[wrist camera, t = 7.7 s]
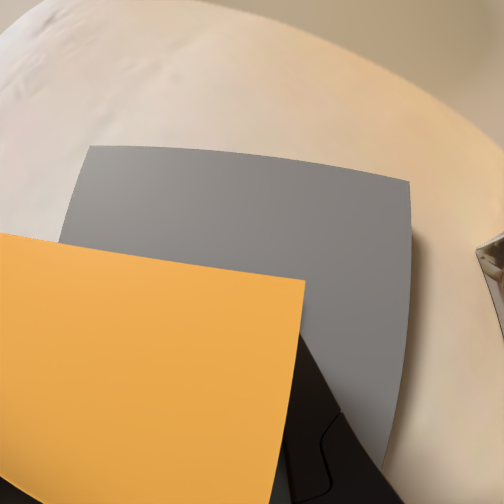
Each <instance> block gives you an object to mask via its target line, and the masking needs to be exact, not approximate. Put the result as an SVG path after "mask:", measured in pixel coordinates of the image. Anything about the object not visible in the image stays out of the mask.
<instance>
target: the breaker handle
mask: <svg viewBox="0 0 504 504" xmlns="http://www.w3.org/2000/svg"><path fill="white" fill-rule="evenodd" d="M305 281H306V280H299V279H291V278H284V277H276V276H269V275H262V274H254V273H247V272H240V271H233V270H226V269H219V268H212V267H205V266H199V265H192V264H185V263H178V262H172V261H165V260H159V259H152V258H146V257H140V256H133V255H127V254H121V253H115V252H108V251H102V250H96V249H90V248H84V247H78V246H72V245H67V244H61V243H55V242H49V241H44V240H38V239H32V238H27V237H21V236H16V235H10V234H5V233H0V476H1V477H2V478H4V479H5V480H7V481H8V482H9V483H11V484H12V485H14V486H15V487H17V488H19V489H20V490H22V491H23V492H25V493H26V494H28V495H30V496H31V497H33V498H35V499H36V500H38V501H40V502H42V503H43V504H269V500H270V495H271V491H272V486H273V482H274V477H275V472H276V467H277V462H278V457H279V452H280V447H281V442H282V436H283V431H284V425H285V420H286V414H287V408H288V402H289V396H290V390H291V384H292V378H293V371H294V365H295V358H296V351H297V344H298V337H299V329H300V322H301V314H302V306H303V298H304V290H305Z"/></svg>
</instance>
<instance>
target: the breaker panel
mask: <svg viewBox="0 0 504 504" xmlns="http://www.w3.org/2000/svg"><path fill="white" fill-rule="evenodd" d="M58 243H61V244H67V245H72V246H78V247H84V248H90V249H96V250H102V251H108V252H115V253H121V254H127V255H133V256H140V257H146V258H152V259H159V260H165V261H172V262H178V263H185V264H192V265H199V266H205V267H212V268H219V269H226V270H233V271H240V272H247V273H254V274H262V275H269V276H276V277H284V278H291V279H299V280H306V281H305V290H304V298H303V306H302V314H301V322H300V329H299V332H300V333H301V335H302V337H303V339H304V341H305V343H306V344H307V346H308V348H309V350H310V352H311V354H312V356H313V357H314V359H315V361H316V363H317V365H318V367H319V368H320V370H321V372H322V374H323V376H324V378H325V379H326V381H327V383H328V385H329V387H330V389H331V391H332V392H333V394H334V396H335V398H336V400H337V402H338V403H339V405H340V407H341V409H342V411H341V412H343V413H344V414H345V416H346V418H347V420H348V422H349V424H350V425H351V427H352V429H353V431H354V432H355V434H356V436H357V437H358V439H359V441H360V442H361V444H362V445H363V447H364V448H365V450H366V451H367V453H368V454H369V456H370V457H371V459H372V460H373V461H374V463H375V464H376V466H377V467H378V468H379V470H380V471H381V468H382V464H383V461H384V457H385V453H386V449H387V445H388V441H389V437H390V433H391V428H392V424H393V419H394V415H395V410H396V404H397V399H398V394H399V388H400V382H401V376H402V369H403V362H404V354H405V346H406V337H407V327H408V316H409V303H410V285H411V203H410V186H409V181H405V180H400V179H396V178H391V177H387V176H382V175H377V174H372V173H367V172H362V171H357V170H352V169H347V168H341V167H335V166H330V165H324V164H318V163H311V162H305V161H298V160H291V159H284V158H277V157H269V156H261V155H252V154H243V153H233V152H223V151H212V150H199V149H185V148H167V147H144V146H90V147H89V150H88V152H87V155H86V157H85V160H84V163H83V165H82V168H81V171H80V174H79V176H78V179H77V182H76V185H75V188H74V191H73V194H72V197H71V200H70V203H69V207H68V210H67V213H66V217H65V220H64V224H63V227H62V231H61V235H60V239H59V242H58Z"/></svg>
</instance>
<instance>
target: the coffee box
mask: <svg viewBox="0 0 504 504" xmlns="http://www.w3.org/2000/svg"><path fill="white" fill-rule="evenodd" d="M476 254H477V257H478V260H479V262H480V265H481V267H482V270H483V273H484V275H485V278H486V281H487V284H488V287H489V289H490V292H491V295H492V298H493V301H494V305H495V308H496V311H497V314H498V318H499V321H500V325H501V328H502V332H503V336H504V232H502V233H501V234H499V235H497V236H496V237H494V238H492V239H491V240H489V241H488V242H486V243H484V244H483V245H481V246H479V247H478V248H477V249H476Z"/></svg>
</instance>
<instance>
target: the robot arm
mask: <svg viewBox="0 0 504 504" xmlns="http://www.w3.org/2000/svg"><path fill="white" fill-rule="evenodd" d="M341 411H342V409H341V407H340V405H339V403H338V402H337V400H336V398H335V396H334V394H333V392H332V391H331V389H330V387H329V385H328V383H327V381H326V379H325V378H324V376H323V374H322V372H321V370H320V368H319V367H318V365H317V363H316V361H315V359H314V357H313V356H312V354H311V352H310V350H309V348H308V346H307V344H306V343H305V341H304V339H303V337H302V335H301V333H300V332H299V337H298V344H297V351H296V358H295V365H294V371H293V378H292V384H291V390H290V396H289V402H288V408H287V414H286V420H285V425H284V431H283V436H282V442H281V447H280V452H279V457H278V462H277V467H276V472H275V477H274V482H273V486H272V491H271V495H270V500H269V504H405V503H404V502H403V501H402V499H401V498H400V497H399V495H398V494H397V493H396V491H395V490H394V489H393V487H392V486H391V485H390V483H389V482H388V481H387V479H386V478H385V476H384V475H383V474H382V472H381V471H380V470H379V468H378V467H377V466H376V464H375V463H374V461H373V460H372V459H371V457H370V456H369V454H368V453H367V451H366V450H365V448H364V447H363V445H362V444H361V442H360V441H359V439H358V437H357V436H356V434H355V432H354V431H353V429H352V427H351V425H350V424H349V422H348V420H347V418H346V416H345V414H344V413H343V412H341ZM0 504H43V503H42V502H40V501H38V500H36V499H35V498H33V497H31V496H30V495H28V494H26V493H25V492H23V491H22V490H20V489H19V488H17V487H15V486H14V485H12V484H11V483H9V482H8V481H7V480H5V479H4V478H2V477H1V476H0Z"/></svg>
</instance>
